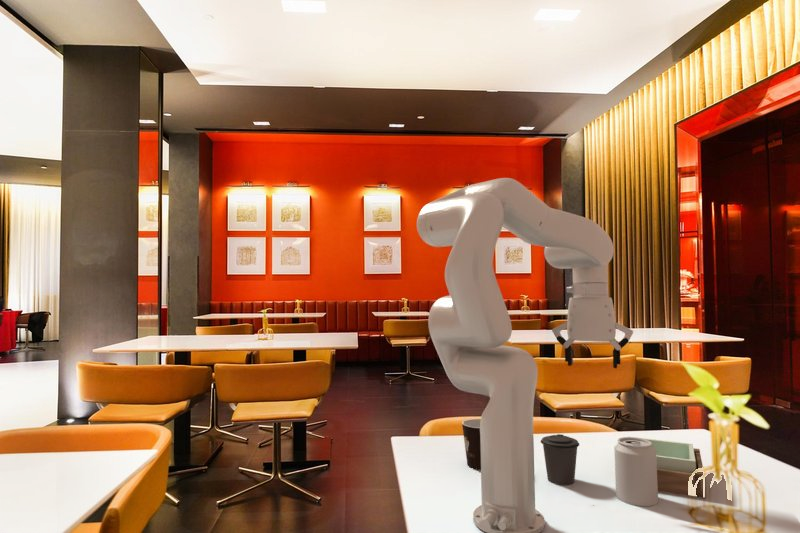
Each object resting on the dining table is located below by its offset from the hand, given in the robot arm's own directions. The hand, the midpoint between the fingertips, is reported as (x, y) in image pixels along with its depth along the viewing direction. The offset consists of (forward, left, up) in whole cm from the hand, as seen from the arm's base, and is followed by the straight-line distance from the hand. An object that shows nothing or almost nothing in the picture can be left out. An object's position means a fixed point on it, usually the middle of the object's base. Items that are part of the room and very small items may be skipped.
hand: (592, 366), depth 112 cm
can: (-11, -9, -25) cm, 29 cm away
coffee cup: (-8, +6, -25) cm, 27 cm away
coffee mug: (-6, +25, -25) cm, 36 cm away
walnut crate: (+4, -13, -25) cm, 28 cm away
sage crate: (+4, -13, -24) cm, 27 cm away
